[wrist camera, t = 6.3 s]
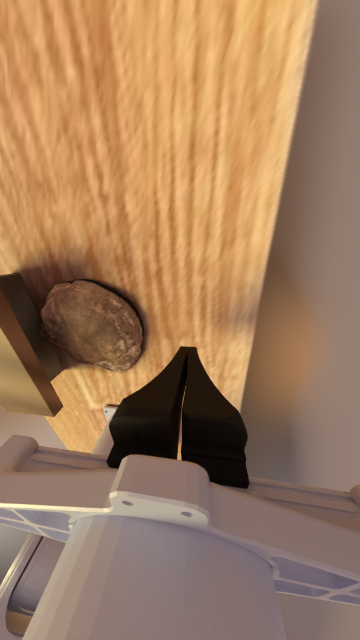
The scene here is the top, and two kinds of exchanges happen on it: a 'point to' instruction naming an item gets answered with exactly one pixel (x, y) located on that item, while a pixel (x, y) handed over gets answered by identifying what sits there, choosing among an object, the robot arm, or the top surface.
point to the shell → (93, 324)
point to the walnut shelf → (25, 354)
